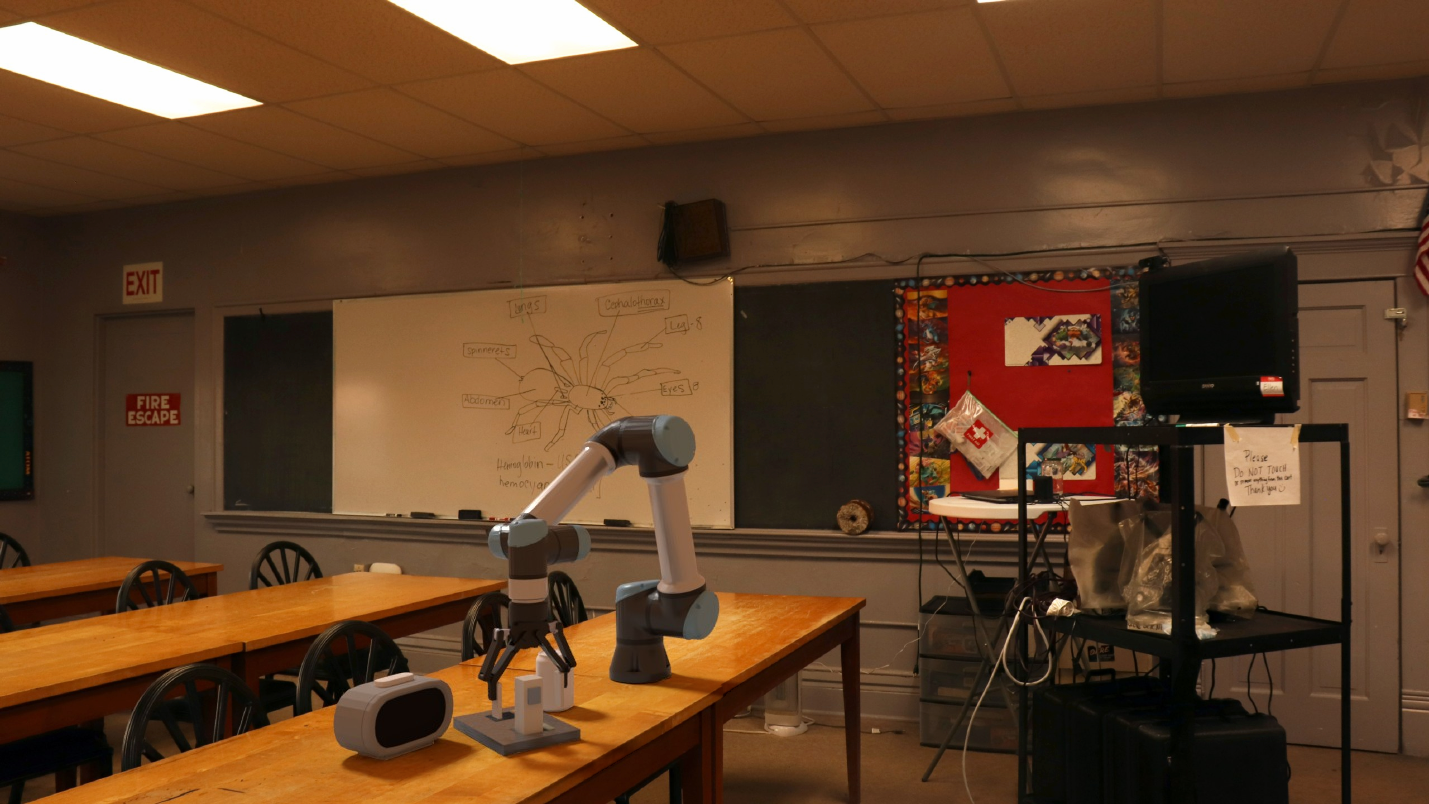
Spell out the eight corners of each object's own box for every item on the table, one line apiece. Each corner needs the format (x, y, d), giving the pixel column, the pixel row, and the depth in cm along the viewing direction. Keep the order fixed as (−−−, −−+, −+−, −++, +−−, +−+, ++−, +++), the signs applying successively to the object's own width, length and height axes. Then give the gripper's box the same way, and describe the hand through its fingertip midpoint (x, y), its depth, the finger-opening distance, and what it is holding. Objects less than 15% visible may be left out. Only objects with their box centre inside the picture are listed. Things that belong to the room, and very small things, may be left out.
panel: (525, 713, 210) (525, 703, 210) (580, 739, 191) (580, 728, 191) (453, 727, 200) (453, 716, 200) (503, 756, 181) (503, 744, 181)
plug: (533, 736, 193) (533, 674, 194) (544, 741, 190) (544, 678, 190) (514, 739, 191) (514, 677, 192) (525, 745, 187) (525, 681, 188)
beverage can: (566, 714, 209) (566, 656, 210) (530, 712, 211) (530, 655, 211) (579, 704, 217) (578, 648, 218) (544, 702, 219) (544, 647, 219)
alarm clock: (367, 768, 175) (368, 692, 176) (333, 760, 180) (333, 686, 181) (455, 738, 193) (455, 669, 193) (421, 731, 198) (421, 664, 198)
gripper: (575, 591, 202) (575, 697, 201) (460, 603, 187) (460, 718, 187) (593, 595, 196) (594, 704, 195) (476, 608, 181) (476, 726, 181)
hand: (528, 711), depth 191 cm, fingers open, 12 cm apart
